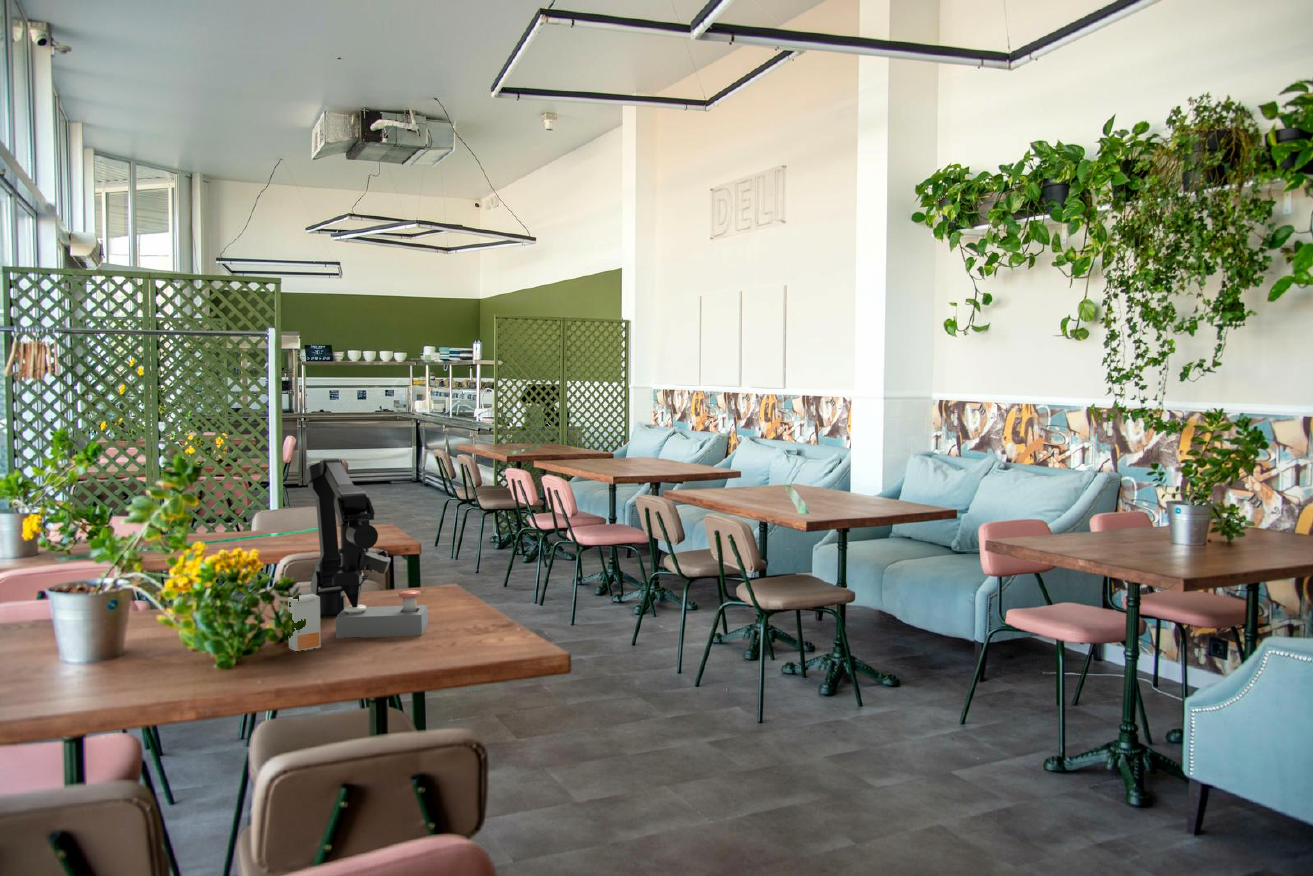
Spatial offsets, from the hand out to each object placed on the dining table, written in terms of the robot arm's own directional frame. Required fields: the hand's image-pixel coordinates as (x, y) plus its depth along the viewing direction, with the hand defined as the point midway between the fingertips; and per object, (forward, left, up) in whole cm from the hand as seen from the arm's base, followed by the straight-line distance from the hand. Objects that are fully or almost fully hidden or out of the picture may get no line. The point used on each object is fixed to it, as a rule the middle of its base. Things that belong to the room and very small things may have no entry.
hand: (355, 607), depth 231 cm
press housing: (+6, 0, -6) cm, 9 cm away
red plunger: (+13, 0, -2) cm, 13 cm away
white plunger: (0, 0, -5) cm, 5 cm away
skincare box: (-9, -13, -6) cm, 17 cm away
